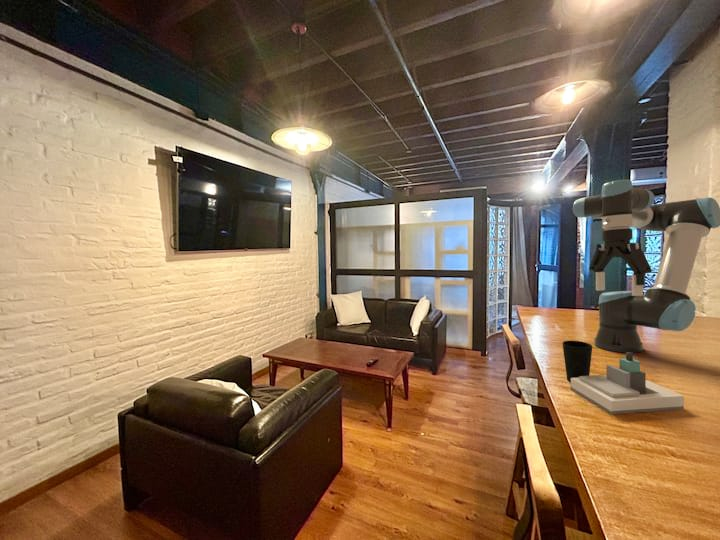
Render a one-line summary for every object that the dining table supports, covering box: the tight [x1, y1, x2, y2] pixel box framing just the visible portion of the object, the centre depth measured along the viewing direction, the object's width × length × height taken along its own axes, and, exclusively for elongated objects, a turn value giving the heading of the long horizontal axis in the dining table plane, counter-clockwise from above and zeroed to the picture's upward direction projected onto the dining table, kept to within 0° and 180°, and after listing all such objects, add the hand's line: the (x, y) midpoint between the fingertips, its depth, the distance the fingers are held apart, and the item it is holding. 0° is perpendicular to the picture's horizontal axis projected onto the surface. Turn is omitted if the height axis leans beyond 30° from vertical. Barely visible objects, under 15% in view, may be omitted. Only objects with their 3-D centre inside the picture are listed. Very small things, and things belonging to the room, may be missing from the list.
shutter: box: [579, 364, 640, 397], centre depth 82 cm, size 7×11×5 cm, turn 2°
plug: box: [618, 352, 647, 395], centre depth 82 cm, size 5×4×12 cm
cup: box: [561, 340, 593, 383], centre depth 94 cm, size 8×8×12 cm
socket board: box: [570, 377, 685, 415], centre depth 82 cm, size 19×14×4 cm
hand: (617, 292), depth 98 cm, fingers open, 13 cm apart
